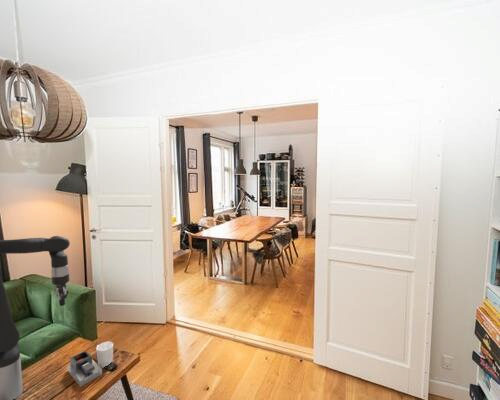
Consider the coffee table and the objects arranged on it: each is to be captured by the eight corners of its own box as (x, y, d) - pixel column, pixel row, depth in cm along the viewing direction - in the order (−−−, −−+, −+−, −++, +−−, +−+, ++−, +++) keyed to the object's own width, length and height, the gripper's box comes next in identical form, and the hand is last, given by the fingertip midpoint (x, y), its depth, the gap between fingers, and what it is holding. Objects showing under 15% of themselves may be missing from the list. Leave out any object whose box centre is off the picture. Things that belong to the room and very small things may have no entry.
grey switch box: (80, 386, 126) (79, 373, 125) (67, 371, 136) (67, 358, 135) (102, 374, 134) (101, 361, 133) (88, 360, 144) (88, 348, 143)
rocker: (87, 373, 128) (86, 370, 128) (81, 368, 133) (81, 365, 133) (94, 369, 131) (94, 366, 131) (89, 364, 135) (88, 361, 135)
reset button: (78, 367, 134) (78, 365, 134) (75, 363, 137) (74, 361, 136) (87, 362, 137) (87, 360, 137) (84, 359, 140) (84, 356, 140)
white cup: (102, 370, 136) (101, 352, 135) (94, 365, 141) (93, 347, 140) (116, 361, 143) (116, 344, 142) (108, 356, 147) (107, 339, 146)
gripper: (47, 272, 139) (49, 304, 141) (56, 279, 131) (58, 312, 133) (64, 269, 145) (65, 298, 147) (73, 274, 137) (75, 306, 139)
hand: (62, 305), depth 140 cm, fingers closed
